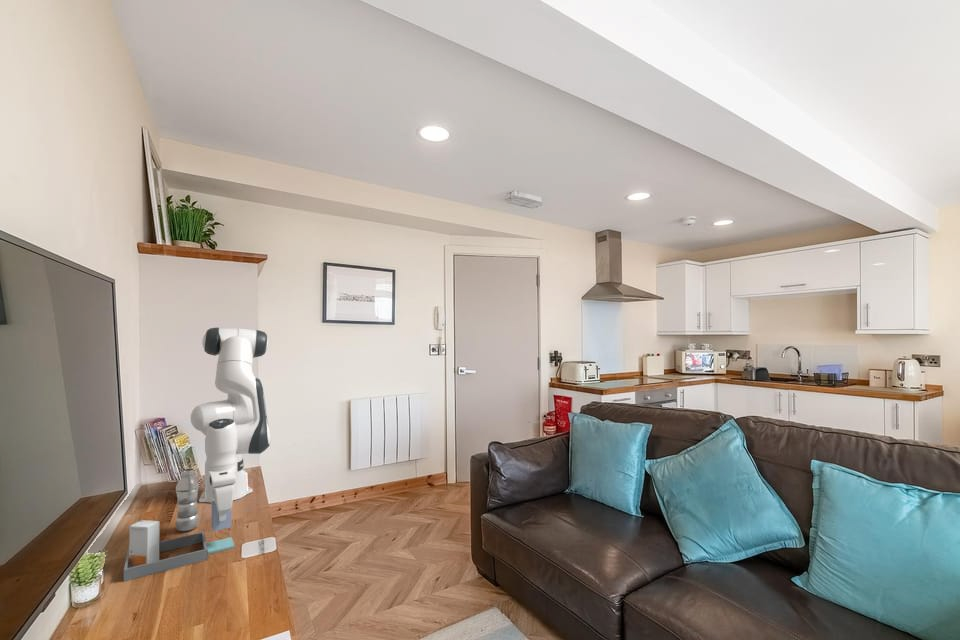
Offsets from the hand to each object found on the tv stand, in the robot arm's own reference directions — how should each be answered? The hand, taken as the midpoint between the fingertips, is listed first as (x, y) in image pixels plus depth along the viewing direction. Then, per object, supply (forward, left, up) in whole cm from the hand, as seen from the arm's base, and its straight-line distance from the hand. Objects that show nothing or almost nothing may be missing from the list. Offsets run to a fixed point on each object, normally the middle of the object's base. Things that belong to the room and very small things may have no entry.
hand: (221, 517), depth 138 cm
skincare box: (0, -19, -9) cm, 21 cm away
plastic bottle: (-20, -8, -9) cm, 24 cm away
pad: (0, 0, -9) cm, 9 cm away
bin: (0, -14, -9) cm, 16 cm away
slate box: (0, 0, -3) cm, 3 cm away
